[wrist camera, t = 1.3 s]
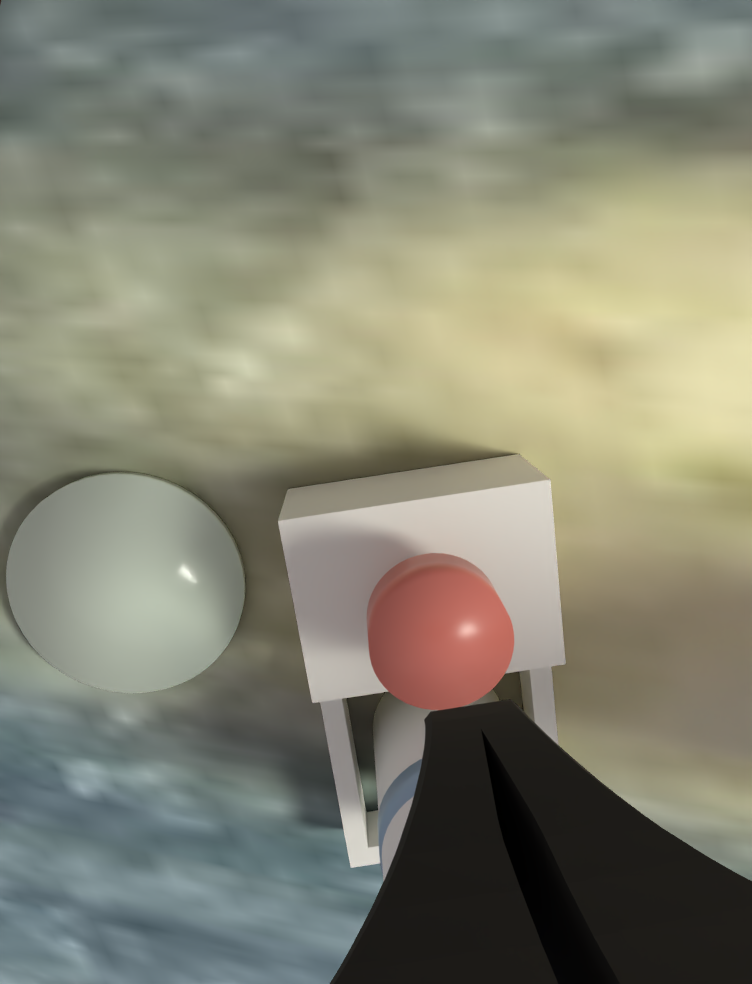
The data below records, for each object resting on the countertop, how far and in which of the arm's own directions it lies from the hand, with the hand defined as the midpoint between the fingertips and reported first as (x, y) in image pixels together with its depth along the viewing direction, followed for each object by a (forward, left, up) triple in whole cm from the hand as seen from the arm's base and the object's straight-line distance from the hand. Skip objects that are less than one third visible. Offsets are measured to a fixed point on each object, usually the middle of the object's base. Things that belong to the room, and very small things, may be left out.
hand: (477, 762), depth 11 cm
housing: (-3, 0, -10) cm, 10 cm away
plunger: (0, 0, -8) cm, 8 cm away
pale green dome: (0, +8, -10) cm, 12 cm away
